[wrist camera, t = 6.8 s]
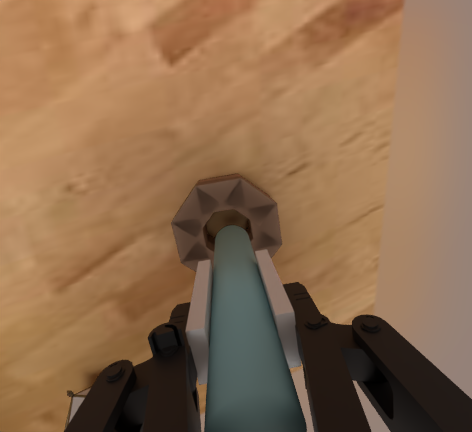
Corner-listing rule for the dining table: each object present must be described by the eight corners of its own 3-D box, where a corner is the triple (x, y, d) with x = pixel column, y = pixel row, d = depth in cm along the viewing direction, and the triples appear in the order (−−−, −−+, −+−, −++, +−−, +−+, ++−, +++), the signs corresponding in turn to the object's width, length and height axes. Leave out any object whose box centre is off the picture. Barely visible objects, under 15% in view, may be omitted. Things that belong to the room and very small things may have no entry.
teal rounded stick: (218, 260, 24) (215, 480, 8) (211, 228, 23) (193, 406, 7) (252, 254, 24) (311, 461, 8) (246, 222, 23) (300, 385, 7)
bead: (191, 271, 31) (187, 289, 27) (171, 185, 28) (163, 191, 24) (277, 255, 31) (285, 271, 27) (265, 168, 28) (272, 172, 24)
